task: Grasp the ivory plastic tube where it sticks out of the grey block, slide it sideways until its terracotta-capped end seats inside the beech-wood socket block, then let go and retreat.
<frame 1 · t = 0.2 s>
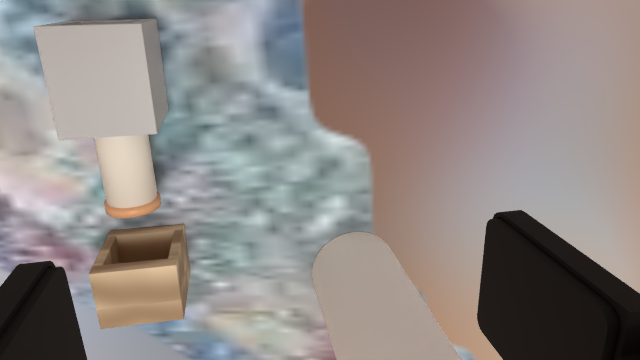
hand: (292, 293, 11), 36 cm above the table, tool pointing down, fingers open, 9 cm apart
tube: (119, 123, 40), point 4 cm above the table, slide at 0.0 cm
cylinder container: (353, 268, 54), on the table
socket: (151, 251, 49), on the table
grey block: (121, 68, 42), on the table
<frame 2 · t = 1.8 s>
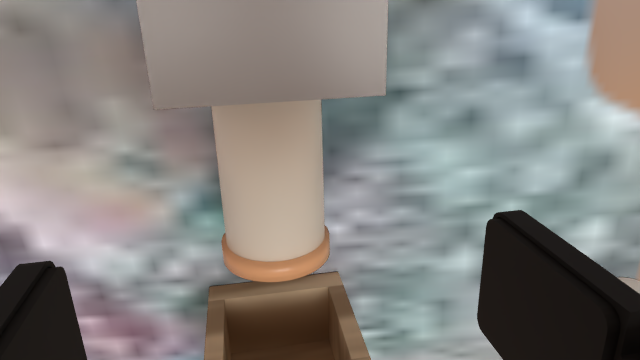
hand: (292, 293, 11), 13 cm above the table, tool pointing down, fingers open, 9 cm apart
tube: (265, 79, 18), point 4 cm above the table, slide at 0.0 cm
socket: (277, 320, 27), on the table
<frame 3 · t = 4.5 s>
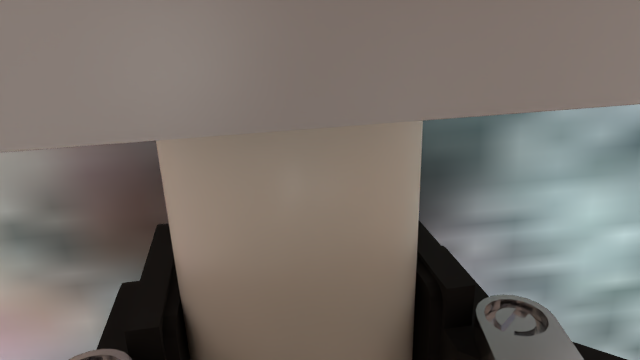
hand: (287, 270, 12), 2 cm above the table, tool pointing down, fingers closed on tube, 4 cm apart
tube: (295, 218, 8), point 4 cm above the table, slide at 2.7 cm, touching gripper
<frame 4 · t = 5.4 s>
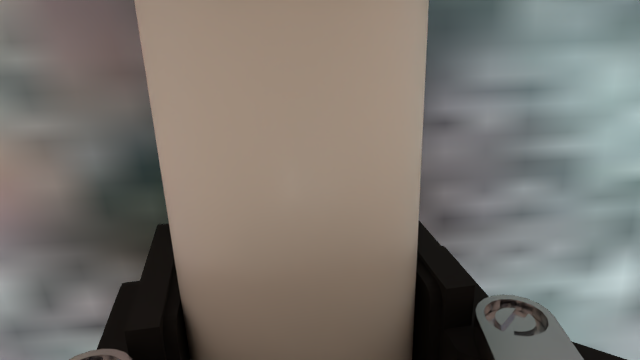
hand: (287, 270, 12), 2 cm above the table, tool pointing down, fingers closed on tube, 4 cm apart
tube: (295, 219, 8), point 4 cm above the table, slide at 6.5 cm, touching gripper
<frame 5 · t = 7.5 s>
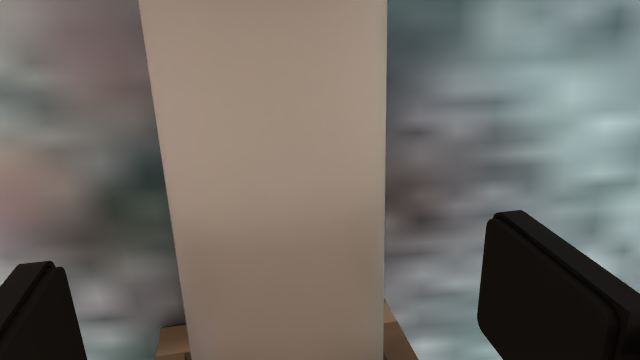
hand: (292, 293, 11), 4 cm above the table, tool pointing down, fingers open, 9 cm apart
tube: (280, 216, 10), point 4 cm above the table, slide at 6.5 cm
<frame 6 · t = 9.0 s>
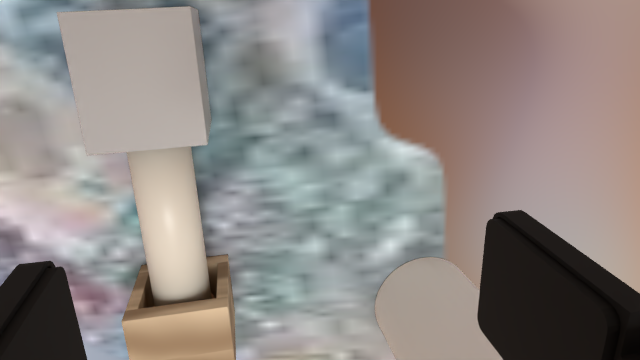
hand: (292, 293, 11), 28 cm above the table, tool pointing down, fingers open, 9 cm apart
tube: (171, 223, 35), point 4 cm above the table, slide at 6.5 cm
cylinder container: (421, 300, 46), on the table
socket: (189, 288, 41), on the table
grey block: (156, 70, 35), on the table
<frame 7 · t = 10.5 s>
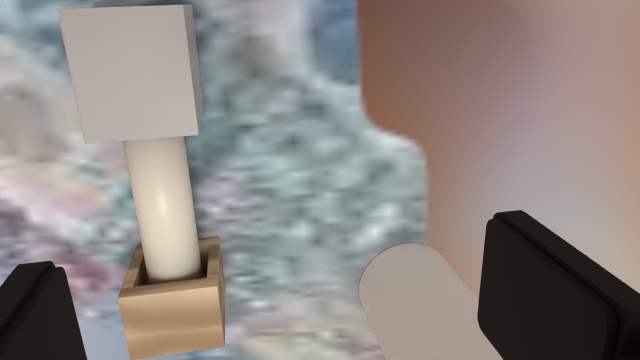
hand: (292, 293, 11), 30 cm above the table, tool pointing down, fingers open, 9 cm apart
tube: (165, 207, 37), point 4 cm above the table, slide at 6.5 cm
cylinder container: (403, 283, 48), on the table
socket: (182, 268, 43), on the table
grey block: (151, 61, 37), on the table
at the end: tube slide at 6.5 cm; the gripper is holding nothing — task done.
